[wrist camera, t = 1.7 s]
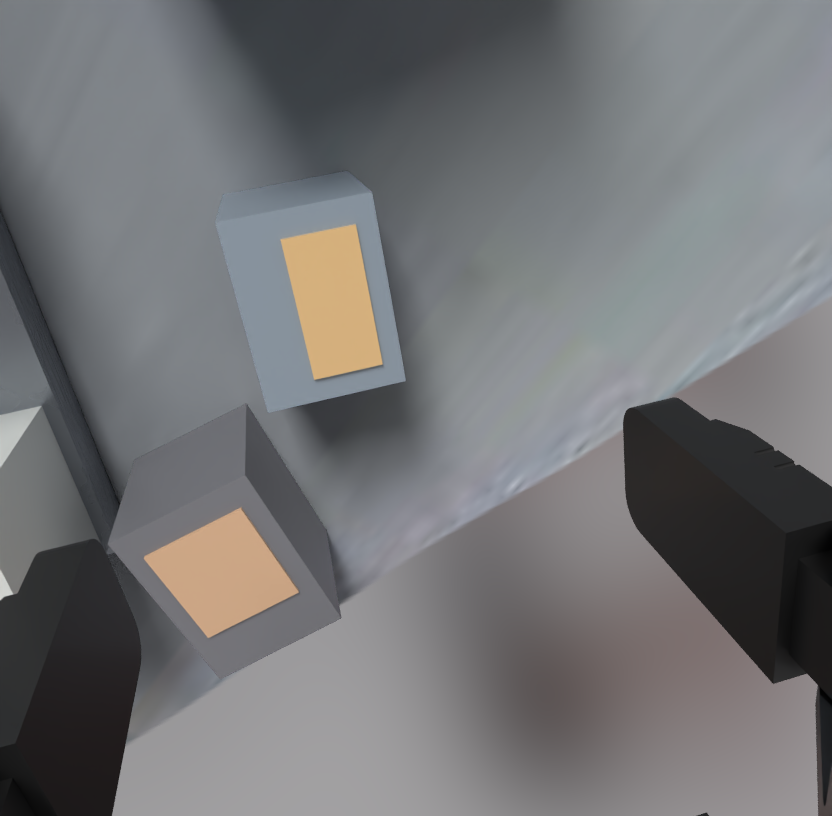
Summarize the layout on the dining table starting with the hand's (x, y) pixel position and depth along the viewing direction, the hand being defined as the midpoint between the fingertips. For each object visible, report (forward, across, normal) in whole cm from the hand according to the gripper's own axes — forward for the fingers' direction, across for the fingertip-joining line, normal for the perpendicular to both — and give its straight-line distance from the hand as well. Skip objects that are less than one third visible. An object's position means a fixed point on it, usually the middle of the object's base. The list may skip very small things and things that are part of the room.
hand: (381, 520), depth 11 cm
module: (+18, 0, 0) cm, 18 cm away
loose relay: (+18, +5, +9) cm, 21 cm away
